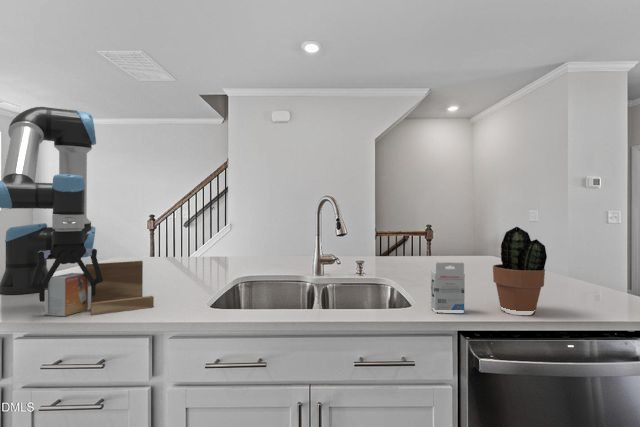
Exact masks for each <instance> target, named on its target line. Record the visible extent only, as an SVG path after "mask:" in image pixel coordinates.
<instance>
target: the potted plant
mask: <svg viewBox="0 0 640 427" xmlns="http://www.w3.org/2000/svg"><path fill="white" fill-rule="evenodd" d="M500 256H501V257H500V261H501V263H498V264H494V265H492V272H493V274H492V275H493V277H492V278H493V283H495V286H496V291H497V295H498V300H499V306H501V307H503V308H506V309H510V310H516V311H534V310H537V306H538V303H539V298H540V294H541V290H542V288H543V287H544V286H545V275H546V269H545V267H546V263H547V262H546V261H547V258H548V257H547V256H548V255H547V250H546V245H544V243H542V242H541V241H539V240H538V239H537V238H535V239H533V240H532V239H531V237H530V234H529V232H528V231H526V230H524V229H522V228H520V227H518V226H515V227H513V228H511V229H509V230H507V231H506V232H505V233H504V235H503V239H502V242H501V244H500ZM501 307H500V308H501Z"/></svg>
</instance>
